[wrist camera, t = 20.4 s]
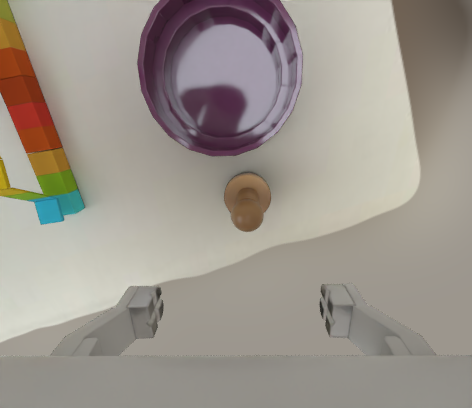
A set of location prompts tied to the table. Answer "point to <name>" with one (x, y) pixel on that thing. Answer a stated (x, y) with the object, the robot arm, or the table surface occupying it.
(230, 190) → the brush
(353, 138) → the table surface
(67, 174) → the chart
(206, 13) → the bowl
